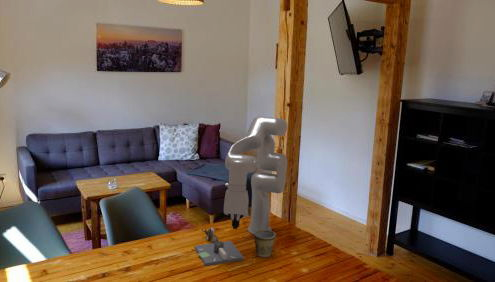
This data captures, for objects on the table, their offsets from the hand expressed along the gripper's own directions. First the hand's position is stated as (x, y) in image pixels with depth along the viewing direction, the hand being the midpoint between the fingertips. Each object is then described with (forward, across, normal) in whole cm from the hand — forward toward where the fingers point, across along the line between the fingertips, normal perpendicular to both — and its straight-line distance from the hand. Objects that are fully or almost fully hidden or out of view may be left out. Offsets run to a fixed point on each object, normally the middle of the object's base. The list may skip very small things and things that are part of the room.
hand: (235, 228), depth 177 cm
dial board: (+16, -9, +6) cm, 20 cm away
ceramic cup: (+16, +11, +14) cm, 24 cm away
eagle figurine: (+16, -17, +19) cm, 31 cm away
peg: (+15, -7, +4) cm, 17 cm away
